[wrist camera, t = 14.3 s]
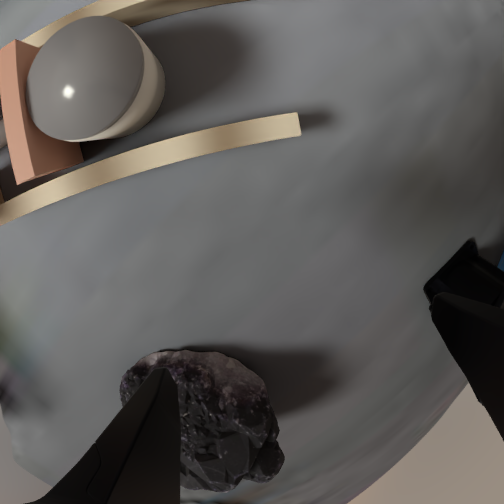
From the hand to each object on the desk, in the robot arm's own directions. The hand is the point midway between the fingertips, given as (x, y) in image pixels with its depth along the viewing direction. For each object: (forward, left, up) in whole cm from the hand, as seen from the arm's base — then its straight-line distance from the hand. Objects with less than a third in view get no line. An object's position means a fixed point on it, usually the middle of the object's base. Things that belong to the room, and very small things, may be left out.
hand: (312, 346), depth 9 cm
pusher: (+8, -17, -11) cm, 21 cm away
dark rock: (+14, +8, -11) cm, 20 cm away
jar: (0, -13, -11) cm, 17 cm away
